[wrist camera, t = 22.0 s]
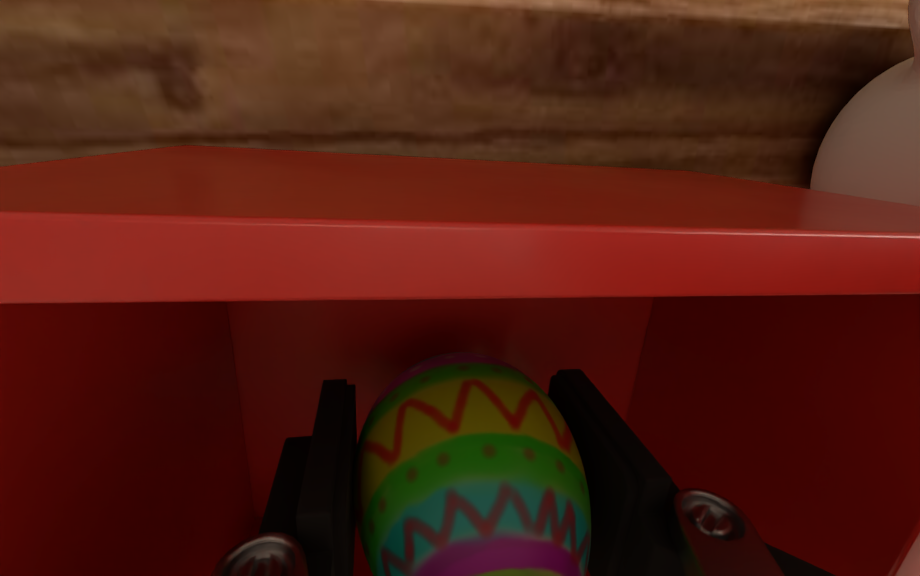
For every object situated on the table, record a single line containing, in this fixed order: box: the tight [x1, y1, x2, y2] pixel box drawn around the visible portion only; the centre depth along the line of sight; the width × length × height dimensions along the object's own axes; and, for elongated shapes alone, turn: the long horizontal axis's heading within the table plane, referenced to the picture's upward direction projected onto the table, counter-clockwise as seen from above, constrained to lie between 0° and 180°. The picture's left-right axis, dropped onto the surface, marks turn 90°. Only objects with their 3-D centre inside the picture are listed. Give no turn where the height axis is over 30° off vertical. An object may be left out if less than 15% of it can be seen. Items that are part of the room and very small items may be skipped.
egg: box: [353, 352, 591, 576], centre depth 9 cm, size 5×5×6 cm
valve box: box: [0, 145, 920, 576], centre depth 11 cm, size 15×13×9 cm
